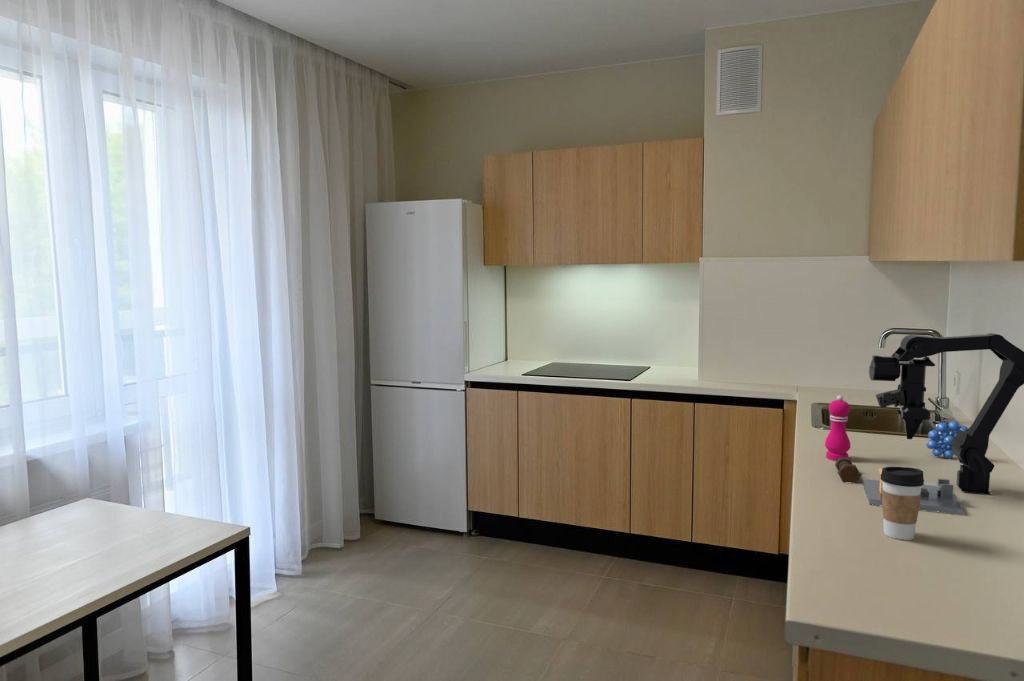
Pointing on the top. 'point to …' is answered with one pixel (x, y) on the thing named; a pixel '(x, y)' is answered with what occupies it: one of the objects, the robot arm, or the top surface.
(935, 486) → the strap
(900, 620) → the top surface
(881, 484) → the block
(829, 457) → the pepper mill
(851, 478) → the bolt
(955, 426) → the grapes
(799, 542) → the top surface
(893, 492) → the coffee cup
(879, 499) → the base
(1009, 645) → the top surface
